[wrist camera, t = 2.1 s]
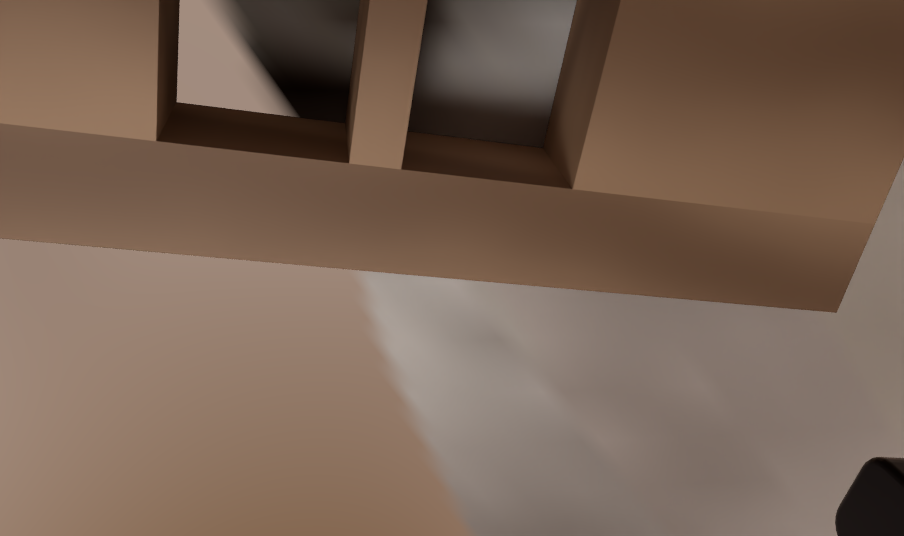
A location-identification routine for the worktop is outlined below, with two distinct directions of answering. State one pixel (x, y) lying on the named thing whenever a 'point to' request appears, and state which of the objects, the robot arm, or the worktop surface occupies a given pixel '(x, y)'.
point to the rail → (481, 151)
